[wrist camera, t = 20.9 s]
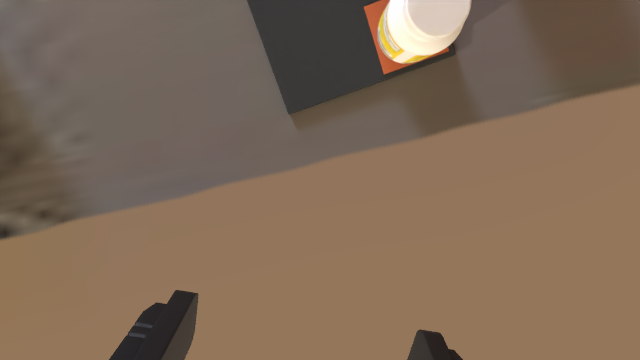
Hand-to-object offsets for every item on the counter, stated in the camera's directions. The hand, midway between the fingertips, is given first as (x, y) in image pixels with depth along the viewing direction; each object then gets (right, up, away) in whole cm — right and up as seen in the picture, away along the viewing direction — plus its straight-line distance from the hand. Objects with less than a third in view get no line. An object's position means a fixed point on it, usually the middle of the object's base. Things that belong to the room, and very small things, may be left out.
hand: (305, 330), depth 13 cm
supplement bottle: (+8, +19, +19) cm, 28 cm away
